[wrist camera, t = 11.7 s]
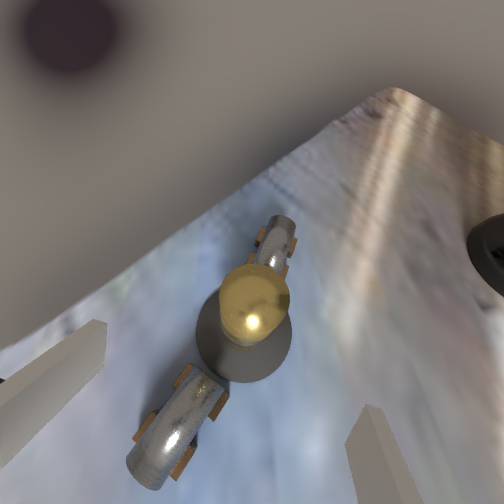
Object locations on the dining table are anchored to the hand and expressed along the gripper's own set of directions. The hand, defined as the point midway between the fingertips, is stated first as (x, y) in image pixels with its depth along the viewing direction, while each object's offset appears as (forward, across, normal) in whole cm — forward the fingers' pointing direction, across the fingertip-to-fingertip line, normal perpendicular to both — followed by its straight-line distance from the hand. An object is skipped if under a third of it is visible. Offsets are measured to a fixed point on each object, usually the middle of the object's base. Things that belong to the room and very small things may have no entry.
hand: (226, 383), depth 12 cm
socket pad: (+14, 0, -7) cm, 16 cm away
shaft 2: (+22, +1, 0) cm, 22 cm away
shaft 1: (+8, -3, -14) cm, 16 cm away
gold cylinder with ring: (+14, 0, -7) cm, 16 cm away
